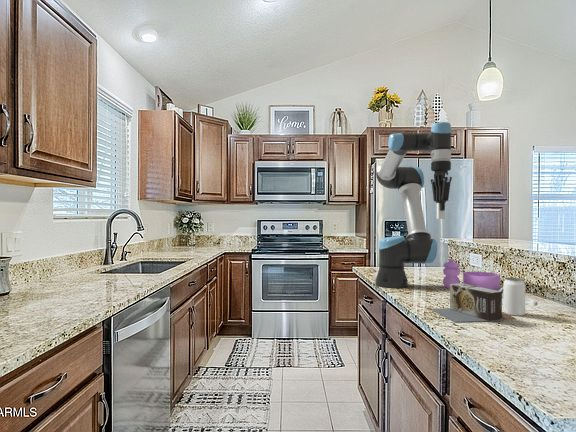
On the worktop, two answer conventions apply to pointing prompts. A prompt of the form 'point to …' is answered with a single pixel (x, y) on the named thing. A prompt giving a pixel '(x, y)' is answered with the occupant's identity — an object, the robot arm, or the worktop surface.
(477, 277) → the container set
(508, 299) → the can
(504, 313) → the turner
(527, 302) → the cloth
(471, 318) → the mat
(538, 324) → the worktop surface
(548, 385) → the worktop surface
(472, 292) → the coffee box
